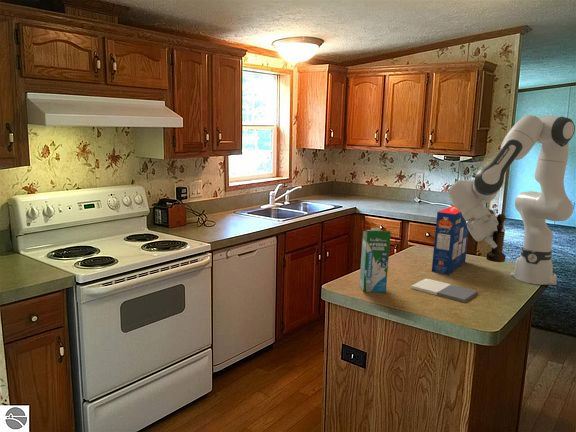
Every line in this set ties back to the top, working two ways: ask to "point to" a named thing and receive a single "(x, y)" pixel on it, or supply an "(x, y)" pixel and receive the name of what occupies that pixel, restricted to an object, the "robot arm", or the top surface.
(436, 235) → the pasta box
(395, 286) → the top surface
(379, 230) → the milk carton
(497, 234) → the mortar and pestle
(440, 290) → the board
